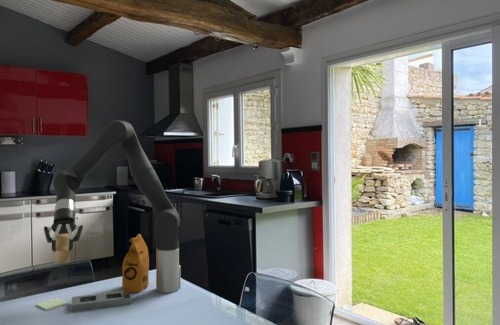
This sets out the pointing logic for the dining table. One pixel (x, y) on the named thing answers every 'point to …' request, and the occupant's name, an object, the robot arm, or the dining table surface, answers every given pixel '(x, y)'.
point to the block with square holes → (100, 301)
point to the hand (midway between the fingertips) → (62, 250)
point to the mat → (52, 304)
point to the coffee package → (136, 266)
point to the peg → (62, 248)
